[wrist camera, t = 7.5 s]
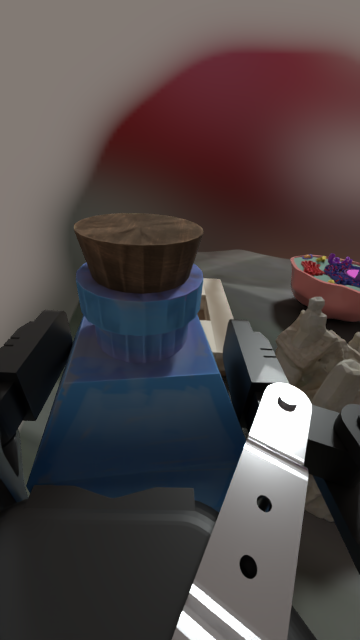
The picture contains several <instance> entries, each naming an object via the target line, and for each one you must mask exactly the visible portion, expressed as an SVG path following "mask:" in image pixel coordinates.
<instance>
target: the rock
mask: <svg viewBox="0 0 360 640" xmlns="http://www.w3.org/2000/svg"><path fill="white" fill-rule="evenodd" d="M324 305H325V300H324V299H323V298H322V297H313V298H311V299H309V304H308V309H307V310H306V311H305V310H302V311H301V313H300V315H299V317H298V318H297V319H296V320H295V321H294V323H293V324H292V325H291V326H290V327H288V328H287V329H286V330H284V331H283V332H282V333H281V334H280V335H279V336H278V338H277V339H276V343H277V346H278V347H277V349H276V352H275V355H276V358H277V359H278V361H279V363H280V365H281V367H282V369H283V372H284V374H285V376H286V378H287V380H288V382H289V384H290V385H291V386H293V387H295V388H297V389H299V390H300V391H301V392H303V393H304V394H305V395H306V396H307V398H308V399H309V401H310V403H311V404H313V405H315V406H318V407H321V408H325V409H328V410H332V411H335V412H338V413H340V412H341V410H342V408H343V407H344V406H346V405H349V404H358V405H360V332H357V333H355V335H354V337H353V339H352V340H351V341H349V343H348V344H347V343H346V341H345V340H344V339H341V338H340V337H339V336H338V335H337V334H336V333H335V332H333V331H332V330H330V331H328V330H327V329H326V326H325V325H326V320H327V316H326V315H325V314H324V313H322V308H323V307H324ZM304 510H306V511H307V512H309V513H311V514H313V515H314V516H316V517H318V518H321V519H322V518H323V519H325V520H327V521H329V522H331V521H332V522H334V520H333V518H332V515H331V513H330V511H329V509H328V507H327V505H326V503H325V501H324V499H323V496H322V494H321V492H320V490H319V488H318V486H317V484H316V482H315V480H314V478H313V475H311V474H308V484H307V492H306V499H305V507H304Z"/></svg>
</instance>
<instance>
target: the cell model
mask: <svg viewBox="0 0 360 640" xmlns="http://www.w3.org/2000/svg"><path fill="white" fill-rule="evenodd" d="M334 257H335V254H332V253H331V254H330V256H329V257H326V256H318V255H311V254H308V255H305V256H296V257H292V258H291V266H292V278H291V289H292V292H293V295H294V297H295V298H296V299H297V300H298V301H299V302H300V303H302V304H303V305H305V306H306V307H308V304H309V299H311V298H313V297H322V298H323V299H324V300H325V305H324V307H323V308H322V313H324V314H325V315H326V316H327V319H337V320H341V321H345V322H359V321H360V263H358V262H354V261H352V259H349V258H350V257H346V259H345V260H344V259H340V258H337V257H336V258H334Z"/></svg>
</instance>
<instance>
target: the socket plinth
mask: <svg viewBox="0 0 360 640" xmlns="http://www.w3.org/2000/svg"><path fill="white" fill-rule="evenodd" d="M197 315H198V317H199V320H200V322H201V324H202V327H203V329H204V332H205V334H206V337H207V340H208V342H209V345H210V347H211V350H212V353H213V355H214V358H215V360H216V363H217V366H218V368H219V371H220V374H221V376H226V372H225V368H224V363H223V346H224V341H225V336H226V331H227V326H228V321H229V320H230V319H233V316H232V313H231V310H230V307H229V304H228V301H227V298H226V295H225V292H224V290H223V287H222V284H221V281H220V279H206V278H203V287H202V296H201V304H200V310H199V312H198V313H197Z"/></svg>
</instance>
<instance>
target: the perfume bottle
mask: <svg viewBox="0 0 360 640" xmlns="http://www.w3.org/2000/svg"><path fill="white" fill-rule="evenodd" d="M74 231H75V234H76V236H77V239H78V241H79V244H80V247H81V249H82V252H83V255H84V257H85V260H86V263H85V264H83V265H82V266H81V267H80V268H79V270H78V271H77V272H76V283H77V288H78V294H79V300H80V306H81V311H82V313H83V318H82V321H81V323H80V326H79V328H78V331H77V333H76V336H75V338H74V341H73V344H72V347H71V350H70V354H69V357H68V360H67V363H66V366H65V369H64V372H63V375H62V378H61V381H60V384H59V387H58V390H57V393H56V396H55V399H54V403H53V406H52V409H51V412H50V415H49V418H48V421H47V424H46V427H45V430H44V433H43V436H42V439H41V442H40V445H39V448H38V452H37V455H36V458H35V461H34V464H33V467H32V470H31V473H30V476H29V479H28V482H27V485H26V487H27V488H28V490H29V492H30V493H31V491H32V489H33V486H34V485H69V486H77V487H80V488H83V489H86V490H89V491H91V492H94V493H97V494H100V495H103V496H106V497H109V498H117V497H121V496H125V495H128V494H132V493H136V492H139V491H143V490H147V489H150V488H154V487H174V488H194V500H196V501H199V502H202V503H204V504H206V505H208V506H210V507H212V508H213V509H215V510H216V511H218V512H219V513H220V510H221V507H222V505H223V502H224V499H225V497H226V494H227V491H228V489H229V486H230V483H231V481H232V478H233V475H234V473H235V470H236V467H237V465H238V462H239V459H240V457H241V454H242V451H243V449H244V446H245V443H246V439H245V436H244V434H243V431H242V428H241V426H240V423H239V421H238V418H237V415H236V413H235V410H234V407H233V405H232V402H231V400H230V397H229V394H228V392H227V389H226V387H225V384H224V381H223V379H222V376H221V374H220V371H219V368H218V366H217V363H216V360H215V358H214V355H213V353H212V350H211V347H210V345H209V342H208V340H207V337H206V334H205V332H204V329H203V327H202V324H201V322H200V320H199V317H198V315H197V313H198V312H199V310H200V304H201V296H202V287H203V273H202V271H201V270H200V269H199V268H198V267H197V266H196V265H195V264H193V263H194V260H195V257H196V254H197V251H198V248H199V245H200V242H201V238H202V235H203V229H202V227H200V226H199V225H197V224H196V223H193V222H190V221H188V220H185V219H180V218H176V217H171V216H164V215H156V214H142V213H119V214H105V215H99V216H93V217H89V218H86V219H82V220H80V221H79V222H77V223H76V224H74Z"/></svg>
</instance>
